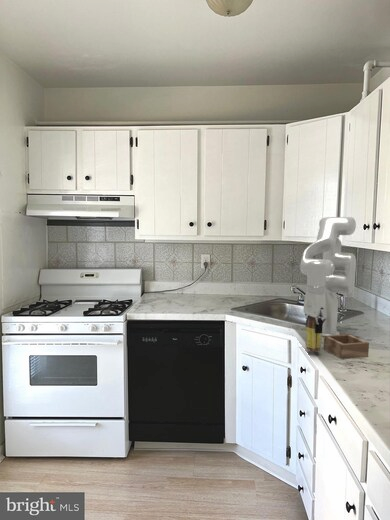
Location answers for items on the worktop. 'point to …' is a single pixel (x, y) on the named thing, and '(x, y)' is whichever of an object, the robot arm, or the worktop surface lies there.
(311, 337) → the sauce bottle
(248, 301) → the worktop surface
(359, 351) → the walnut sleeve
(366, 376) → the worktop surface
